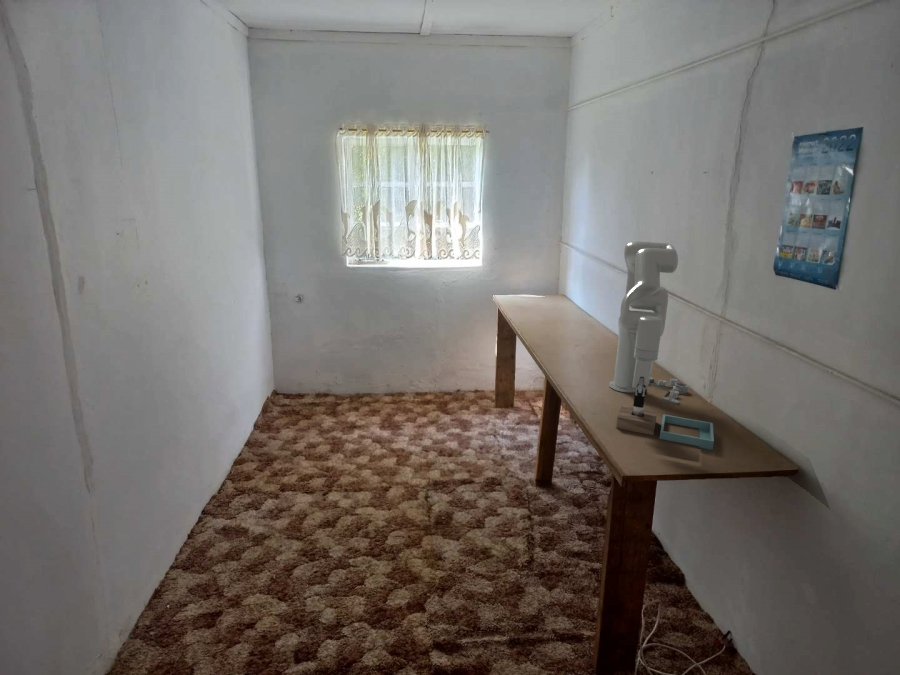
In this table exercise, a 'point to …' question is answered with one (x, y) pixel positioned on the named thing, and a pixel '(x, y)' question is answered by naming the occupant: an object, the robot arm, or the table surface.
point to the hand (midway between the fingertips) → (639, 402)
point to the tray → (703, 441)
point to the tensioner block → (636, 420)
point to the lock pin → (638, 411)
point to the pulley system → (677, 388)
